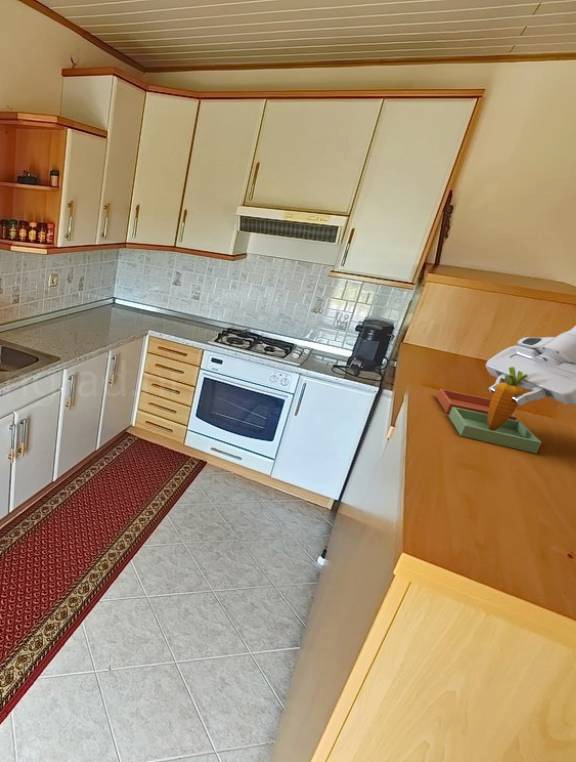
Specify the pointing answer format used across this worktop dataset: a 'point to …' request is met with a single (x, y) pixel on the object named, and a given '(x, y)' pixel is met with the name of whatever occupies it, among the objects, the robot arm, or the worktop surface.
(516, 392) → the carrot
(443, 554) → the worktop surface
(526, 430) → the green tray
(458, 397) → the terracotta tray
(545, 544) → the worktop surface
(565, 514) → the worktop surface
